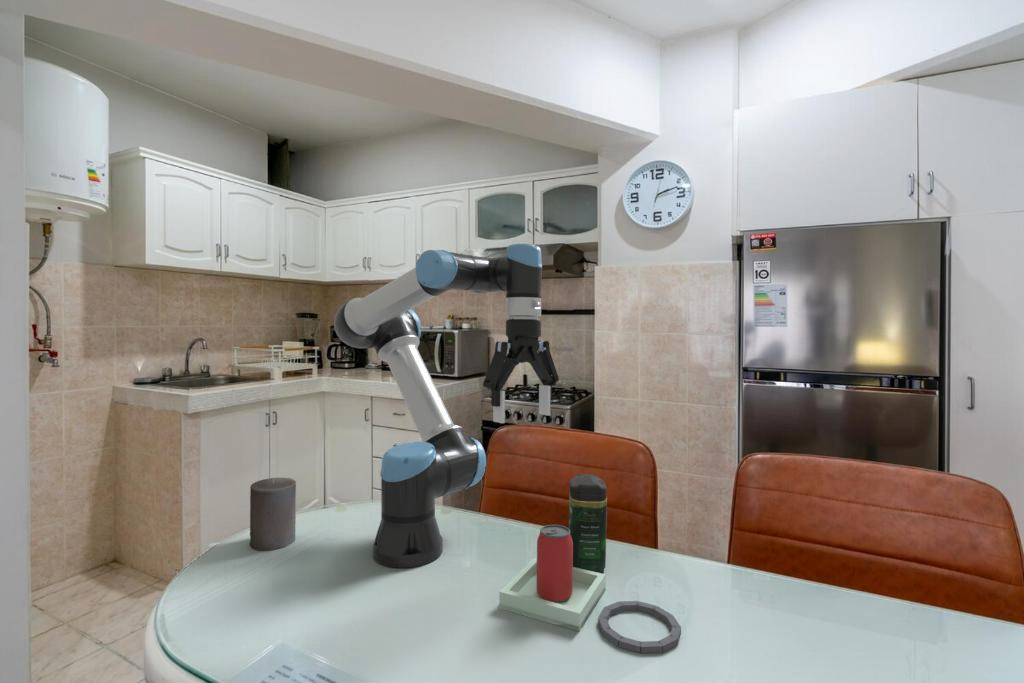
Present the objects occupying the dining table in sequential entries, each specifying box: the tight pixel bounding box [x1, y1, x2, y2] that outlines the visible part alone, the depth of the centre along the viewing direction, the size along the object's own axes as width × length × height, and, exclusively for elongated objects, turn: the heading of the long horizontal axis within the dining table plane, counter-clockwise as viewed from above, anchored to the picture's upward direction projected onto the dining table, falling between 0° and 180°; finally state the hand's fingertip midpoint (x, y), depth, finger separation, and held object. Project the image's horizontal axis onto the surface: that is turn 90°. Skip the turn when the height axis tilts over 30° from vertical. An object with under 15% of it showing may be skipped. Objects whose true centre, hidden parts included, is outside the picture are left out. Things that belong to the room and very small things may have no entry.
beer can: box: [536, 524, 573, 602], centre depth 94 cm, size 7×7×12 cm
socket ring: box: [597, 600, 682, 654], centre depth 85 cm, size 13×13×1 cm
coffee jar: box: [568, 473, 608, 573], centre depth 108 cm, size 10×8×19 cm
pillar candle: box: [249, 477, 297, 552], centre depth 118 cm, size 10×10×15 cm
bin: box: [499, 557, 607, 632], centre depth 94 cm, size 15×15×3 cm
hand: (522, 418), depth 108 cm, fingers open, 13 cm apart
